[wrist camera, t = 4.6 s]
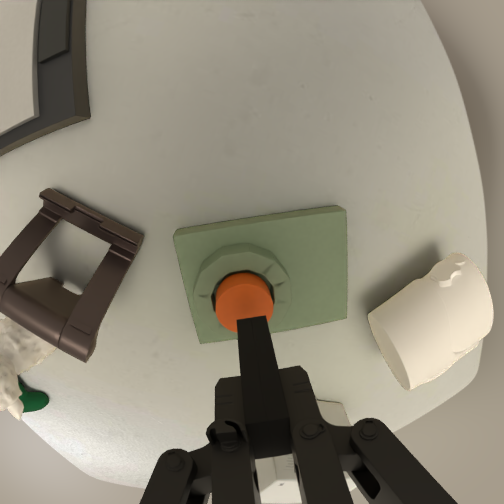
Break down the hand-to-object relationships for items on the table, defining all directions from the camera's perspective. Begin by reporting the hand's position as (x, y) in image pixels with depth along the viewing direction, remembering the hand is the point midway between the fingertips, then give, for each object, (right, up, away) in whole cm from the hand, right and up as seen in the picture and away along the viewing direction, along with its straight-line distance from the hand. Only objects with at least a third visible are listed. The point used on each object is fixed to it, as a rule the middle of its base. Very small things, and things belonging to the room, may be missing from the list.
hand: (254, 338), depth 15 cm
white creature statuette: (-21, -1, +7) cm, 22 cm away
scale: (-21, +21, -1) cm, 30 cm away
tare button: (-1, +2, +5) cm, 5 cm away
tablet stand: (-13, +5, +6) cm, 15 cm away
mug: (+16, -1, +11) cm, 19 cm away
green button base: (+1, +3, +8) cm, 8 cm away
